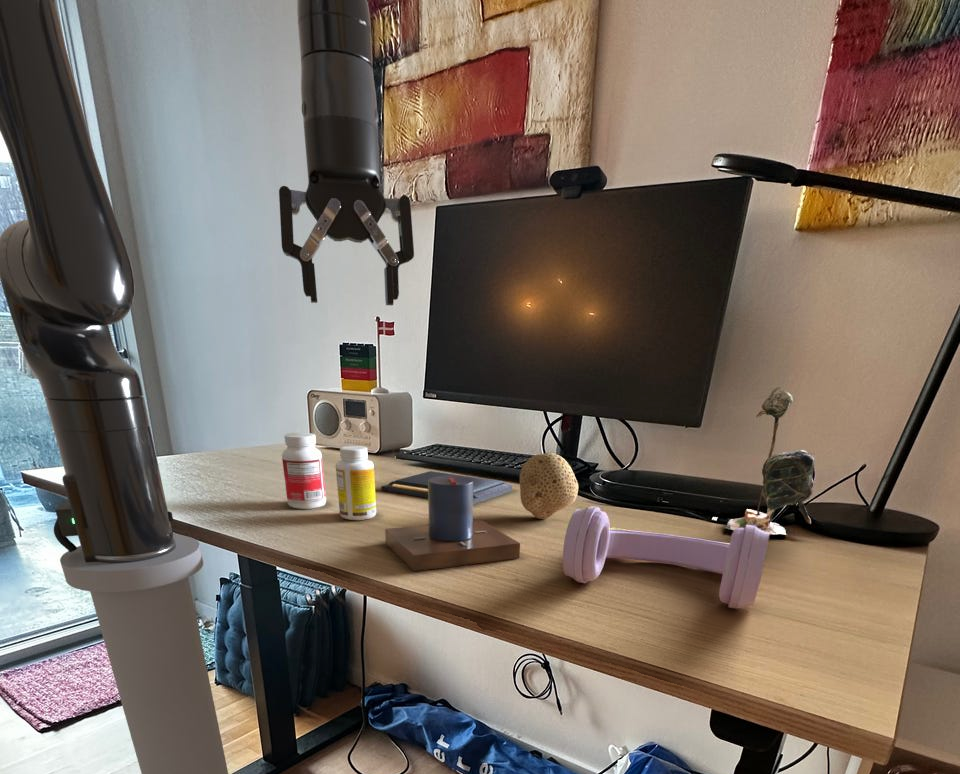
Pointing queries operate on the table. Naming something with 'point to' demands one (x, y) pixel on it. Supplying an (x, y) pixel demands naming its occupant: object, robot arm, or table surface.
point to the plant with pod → (780, 475)
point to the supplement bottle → (355, 484)
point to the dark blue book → (419, 483)
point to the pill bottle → (303, 472)
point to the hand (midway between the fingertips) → (352, 303)
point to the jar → (450, 508)
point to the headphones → (666, 553)
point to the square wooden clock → (450, 547)
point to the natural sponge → (547, 485)
